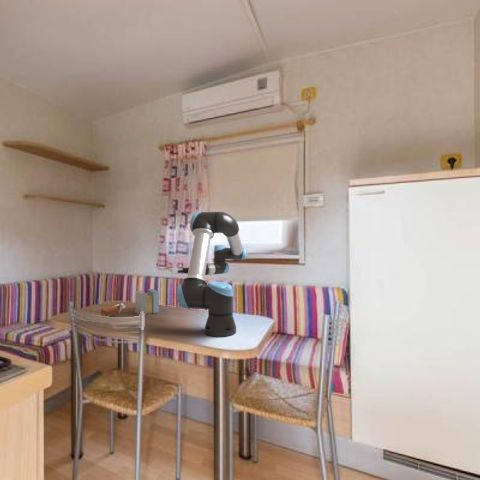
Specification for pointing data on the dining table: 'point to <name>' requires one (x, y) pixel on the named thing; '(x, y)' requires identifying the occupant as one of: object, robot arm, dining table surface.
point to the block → (149, 304)
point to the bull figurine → (112, 310)
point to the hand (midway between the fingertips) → (172, 271)
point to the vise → (144, 303)
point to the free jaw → (154, 299)
